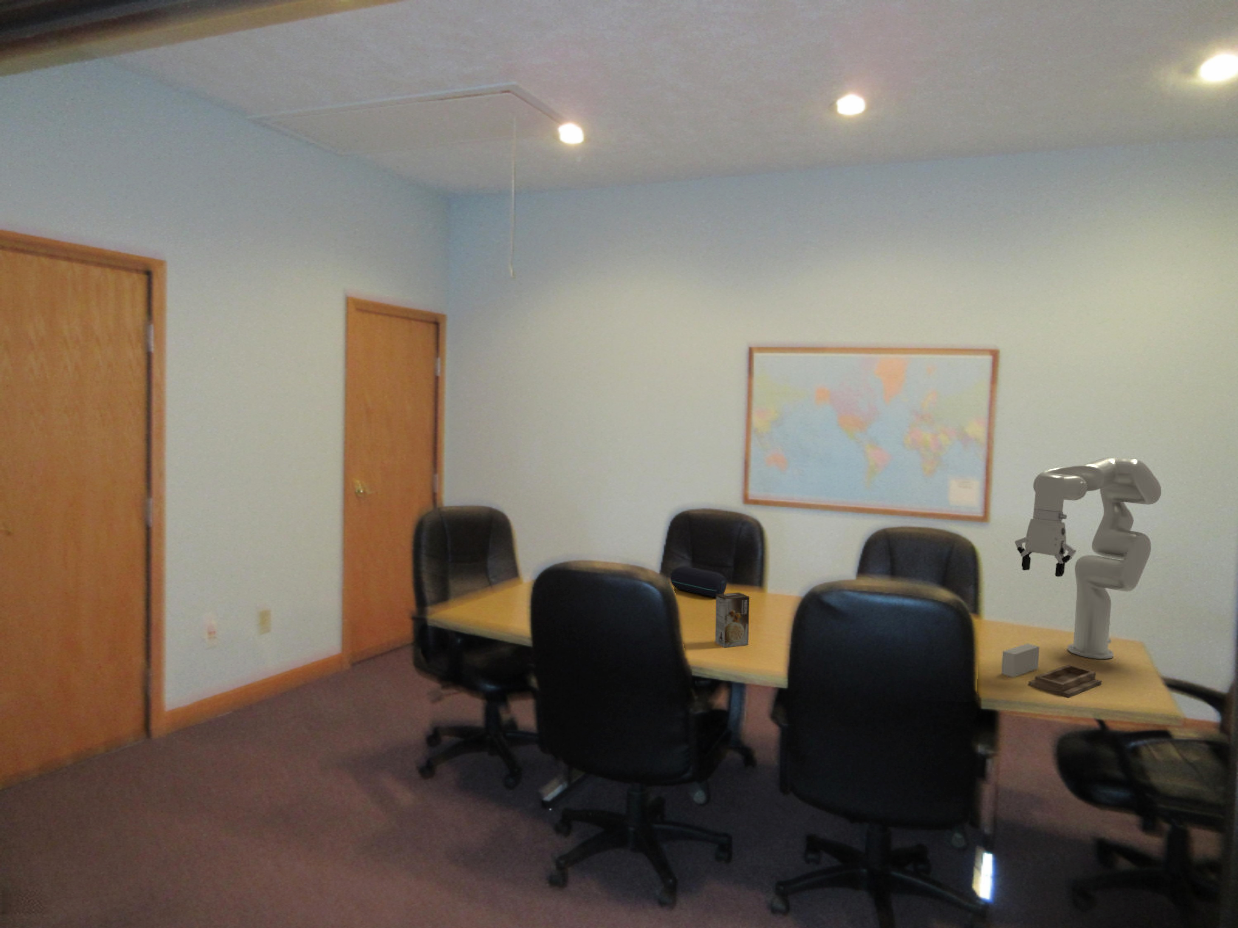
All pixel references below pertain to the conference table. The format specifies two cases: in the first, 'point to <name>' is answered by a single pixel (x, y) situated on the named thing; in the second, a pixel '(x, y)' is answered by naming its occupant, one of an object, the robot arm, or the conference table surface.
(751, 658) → the conference table surface
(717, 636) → the coffee box
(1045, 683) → the rack
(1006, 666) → the light grey block
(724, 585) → the portable speaker
